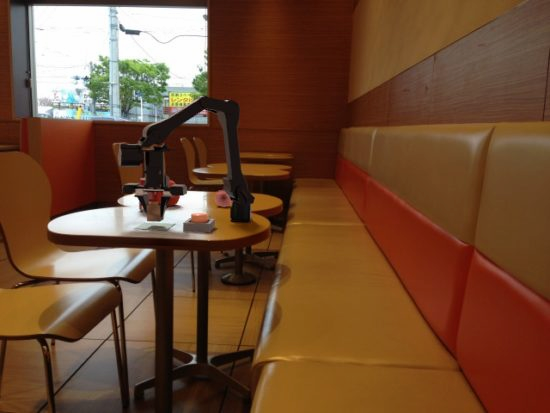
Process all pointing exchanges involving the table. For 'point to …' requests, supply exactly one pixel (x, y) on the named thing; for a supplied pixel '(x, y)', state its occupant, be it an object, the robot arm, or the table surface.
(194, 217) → the button
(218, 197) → the flower
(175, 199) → the apple
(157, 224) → the board
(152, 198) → the soda can
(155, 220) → the block
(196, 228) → the button box
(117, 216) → the table surface
